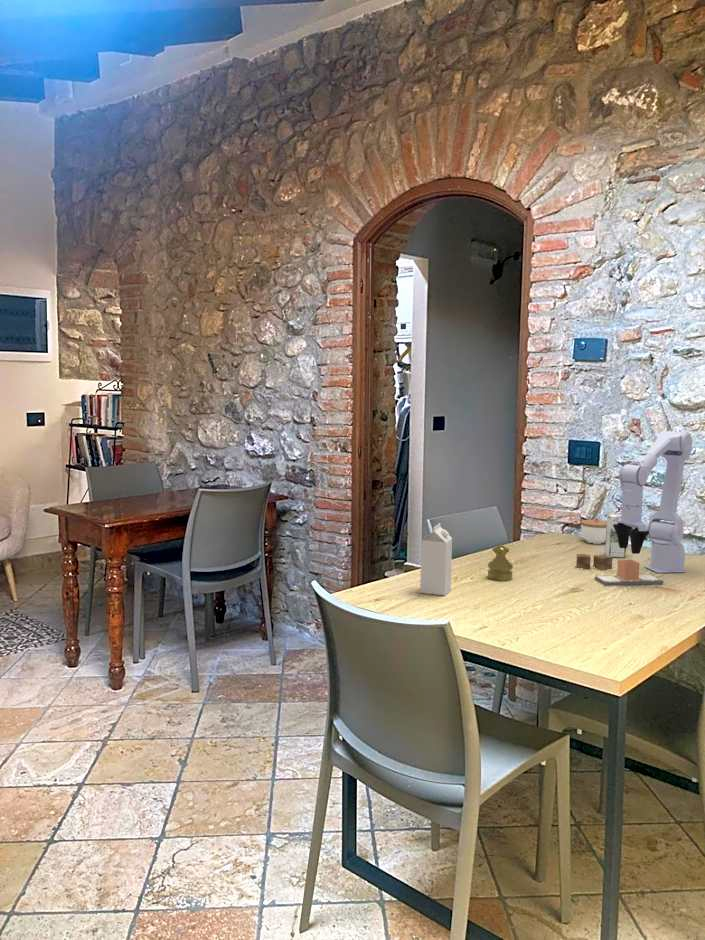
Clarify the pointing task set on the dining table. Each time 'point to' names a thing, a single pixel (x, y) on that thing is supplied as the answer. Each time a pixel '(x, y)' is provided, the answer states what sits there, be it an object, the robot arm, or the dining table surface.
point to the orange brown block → (628, 570)
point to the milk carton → (436, 562)
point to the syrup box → (613, 539)
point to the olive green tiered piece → (500, 565)
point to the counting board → (618, 581)
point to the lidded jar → (594, 531)
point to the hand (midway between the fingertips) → (629, 550)
